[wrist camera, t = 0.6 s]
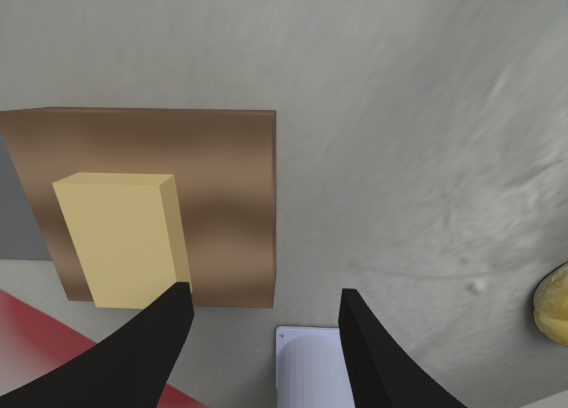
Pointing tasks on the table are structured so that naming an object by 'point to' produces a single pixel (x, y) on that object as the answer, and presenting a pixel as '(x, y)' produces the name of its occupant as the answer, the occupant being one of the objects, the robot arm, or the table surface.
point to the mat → (17, 216)
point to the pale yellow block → (125, 235)
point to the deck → (171, 161)
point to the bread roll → (553, 306)
